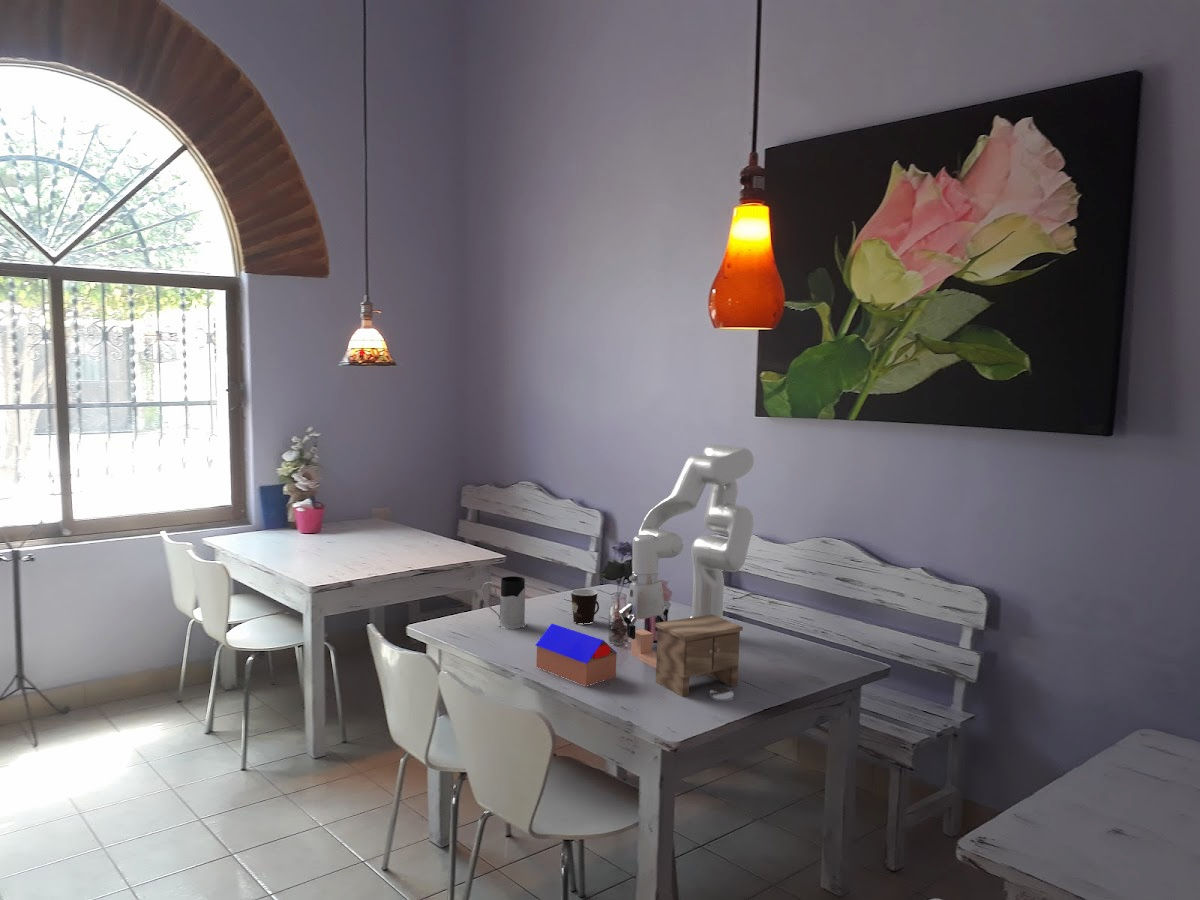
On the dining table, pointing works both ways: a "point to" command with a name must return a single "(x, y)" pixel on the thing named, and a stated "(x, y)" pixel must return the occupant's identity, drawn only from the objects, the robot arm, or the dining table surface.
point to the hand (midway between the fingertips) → (645, 634)
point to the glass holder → (511, 602)
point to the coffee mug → (584, 605)
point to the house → (575, 656)
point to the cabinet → (696, 651)
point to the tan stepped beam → (644, 647)
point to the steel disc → (721, 694)
